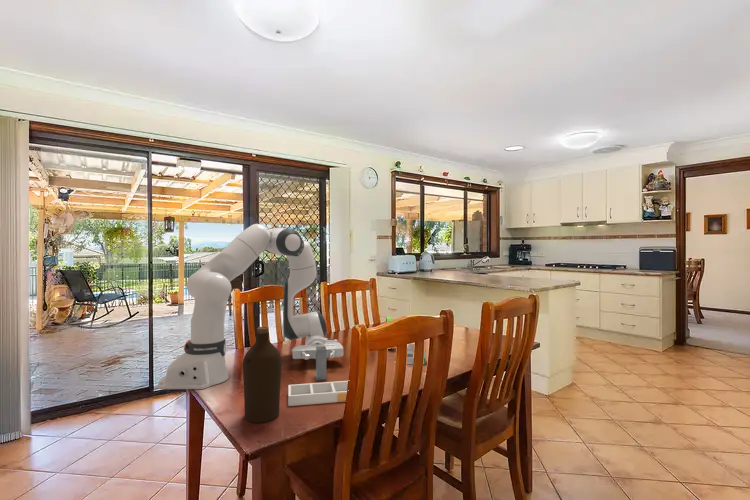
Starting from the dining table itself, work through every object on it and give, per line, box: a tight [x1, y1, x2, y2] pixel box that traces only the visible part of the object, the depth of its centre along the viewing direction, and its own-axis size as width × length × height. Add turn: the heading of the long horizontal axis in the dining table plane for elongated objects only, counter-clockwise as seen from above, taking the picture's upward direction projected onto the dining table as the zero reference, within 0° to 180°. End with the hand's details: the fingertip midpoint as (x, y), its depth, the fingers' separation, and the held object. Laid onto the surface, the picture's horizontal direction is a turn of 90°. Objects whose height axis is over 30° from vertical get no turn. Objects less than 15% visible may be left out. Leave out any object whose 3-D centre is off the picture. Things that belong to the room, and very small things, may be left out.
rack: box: [287, 380, 349, 407], centre depth 120 cm, size 21×10×3 cm, turn 103°
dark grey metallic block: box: [315, 346, 328, 381], centre depth 138 cm, size 4×5×11 cm
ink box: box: [406, 340, 427, 365], centre depth 158 cm, size 8×5×12 cm, turn 88°
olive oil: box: [242, 326, 283, 424], centre depth 107 cm, size 11×11×25 cm
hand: (319, 356), depth 145 cm, fingers open, 8 cm apart
